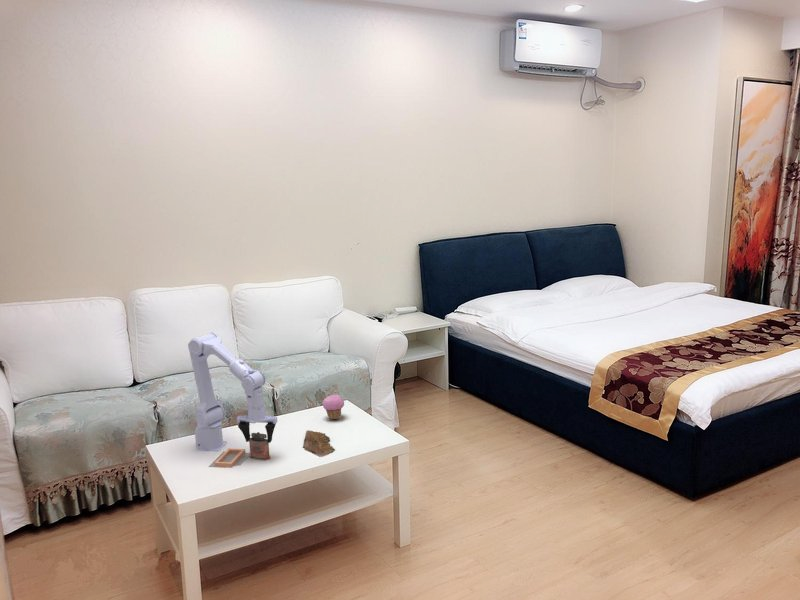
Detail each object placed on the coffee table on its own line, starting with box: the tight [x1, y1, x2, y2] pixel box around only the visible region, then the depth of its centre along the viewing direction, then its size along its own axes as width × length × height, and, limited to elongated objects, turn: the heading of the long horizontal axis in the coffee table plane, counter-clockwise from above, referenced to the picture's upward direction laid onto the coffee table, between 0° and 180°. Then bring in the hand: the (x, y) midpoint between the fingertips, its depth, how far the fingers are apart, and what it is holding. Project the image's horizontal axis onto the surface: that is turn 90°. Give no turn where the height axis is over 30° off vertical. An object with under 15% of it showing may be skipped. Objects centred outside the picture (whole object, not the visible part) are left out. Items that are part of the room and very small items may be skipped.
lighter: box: [248, 432, 271, 461], centre depth 221 cm, size 8×3×10 cm, turn 68°
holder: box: [208, 448, 250, 469], centre depth 220 cm, size 11×12×2 cm
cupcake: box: [322, 394, 345, 420], centre depth 255 cm, size 9×9×10 cm
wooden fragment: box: [302, 429, 336, 458], centre depth 232 cm, size 26×11×1 cm, turn 18°
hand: (259, 441), depth 220 cm, fingers open, 7 cm apart
